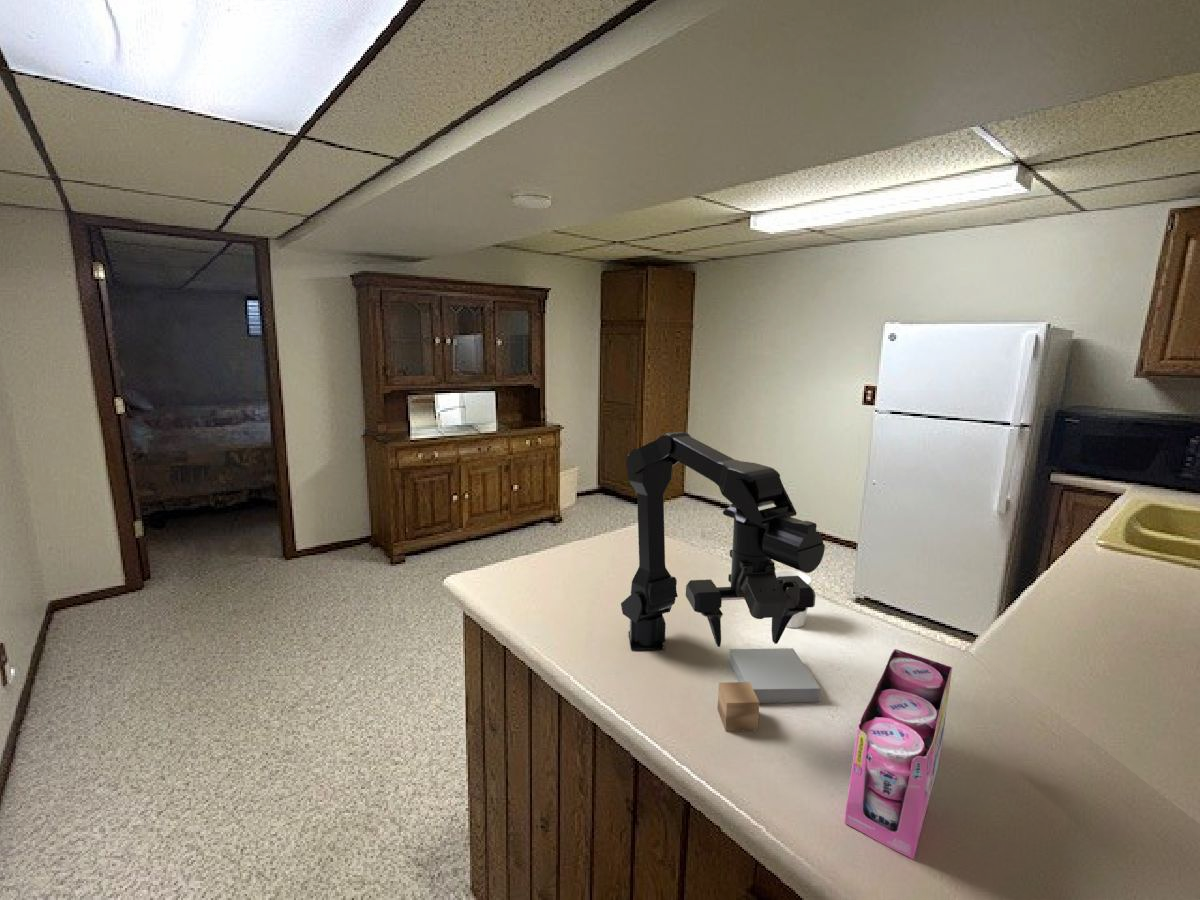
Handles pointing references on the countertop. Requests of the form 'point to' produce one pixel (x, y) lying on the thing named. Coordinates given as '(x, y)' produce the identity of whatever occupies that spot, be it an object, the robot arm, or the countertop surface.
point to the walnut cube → (738, 706)
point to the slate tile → (775, 675)
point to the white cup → (800, 617)
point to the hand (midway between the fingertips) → (746, 644)
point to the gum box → (898, 751)
